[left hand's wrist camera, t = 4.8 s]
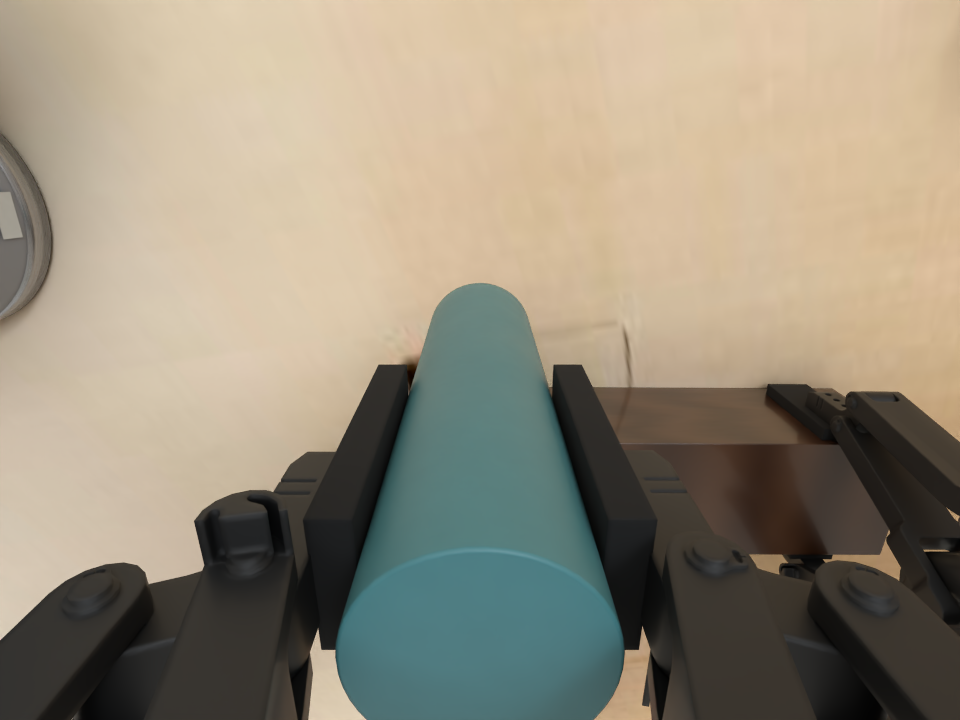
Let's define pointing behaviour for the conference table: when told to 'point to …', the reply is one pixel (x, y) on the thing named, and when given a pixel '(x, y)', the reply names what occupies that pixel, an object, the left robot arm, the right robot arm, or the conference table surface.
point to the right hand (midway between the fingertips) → (773, 444)
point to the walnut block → (751, 468)
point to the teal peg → (479, 543)
